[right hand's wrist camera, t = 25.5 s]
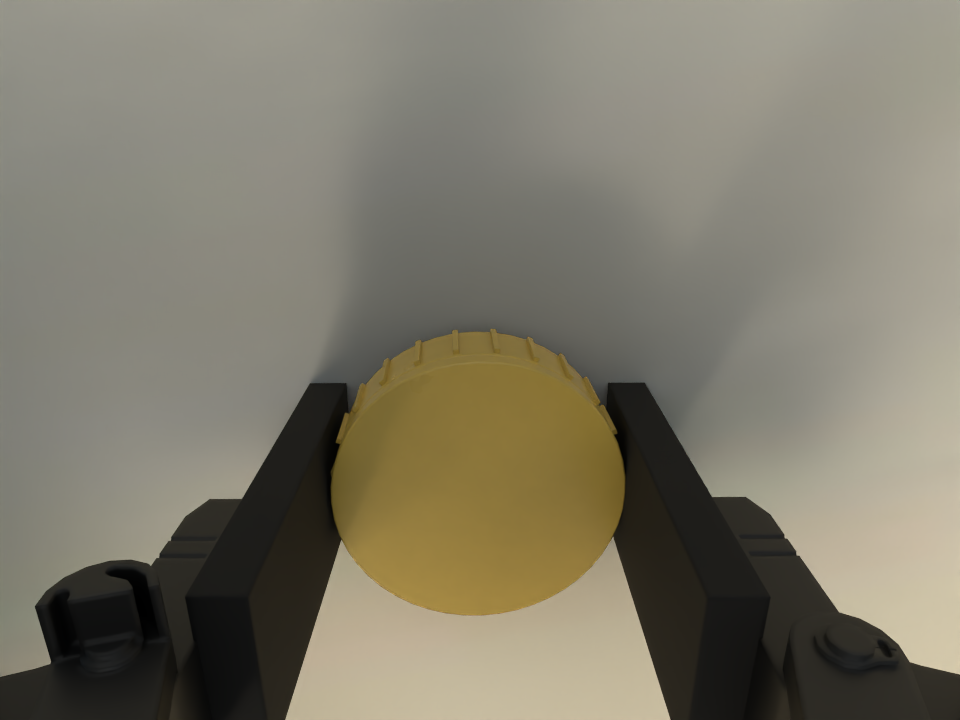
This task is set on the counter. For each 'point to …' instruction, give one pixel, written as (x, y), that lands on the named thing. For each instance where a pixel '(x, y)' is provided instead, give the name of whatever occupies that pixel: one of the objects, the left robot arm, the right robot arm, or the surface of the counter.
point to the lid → (477, 474)
